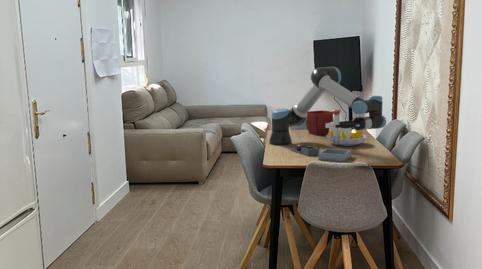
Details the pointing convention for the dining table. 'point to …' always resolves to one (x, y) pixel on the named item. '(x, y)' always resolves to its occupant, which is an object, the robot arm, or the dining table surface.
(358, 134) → the fruit bowl
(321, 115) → the plant pot
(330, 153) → the tray
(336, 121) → the lock pin
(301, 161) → the dining table surface
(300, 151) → the bracket
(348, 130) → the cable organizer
